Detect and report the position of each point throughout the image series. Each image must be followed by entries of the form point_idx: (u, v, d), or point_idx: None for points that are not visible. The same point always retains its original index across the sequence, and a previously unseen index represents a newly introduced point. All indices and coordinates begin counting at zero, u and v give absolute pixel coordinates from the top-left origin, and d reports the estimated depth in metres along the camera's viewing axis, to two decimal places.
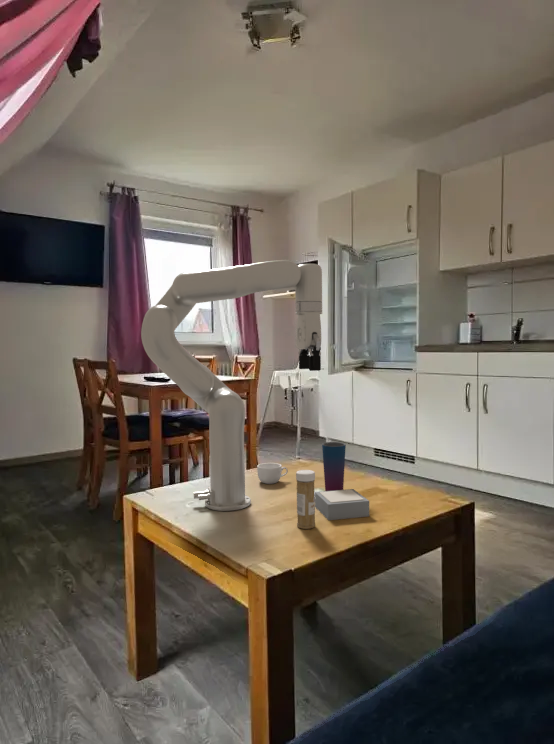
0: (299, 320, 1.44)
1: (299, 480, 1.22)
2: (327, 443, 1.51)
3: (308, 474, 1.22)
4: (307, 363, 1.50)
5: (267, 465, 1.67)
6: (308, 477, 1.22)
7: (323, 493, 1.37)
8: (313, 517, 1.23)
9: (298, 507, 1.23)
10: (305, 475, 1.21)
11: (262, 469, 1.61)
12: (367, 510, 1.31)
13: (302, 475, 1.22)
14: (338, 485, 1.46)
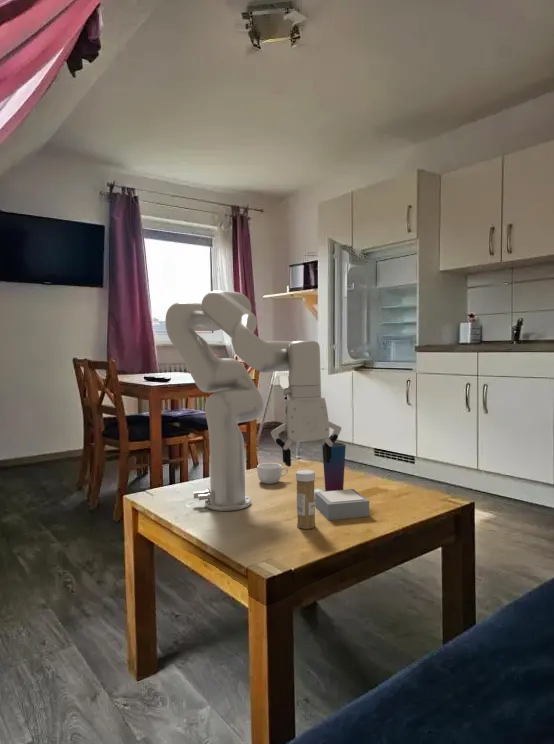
0: (308, 407, 1.20)
1: (299, 480, 1.22)
2: None
3: (308, 474, 1.22)
4: None
5: (267, 465, 1.67)
6: (308, 477, 1.22)
7: (323, 493, 1.37)
8: (313, 517, 1.23)
9: (298, 507, 1.23)
10: (305, 475, 1.21)
11: (262, 469, 1.61)
12: (367, 510, 1.31)
13: (302, 475, 1.22)
14: (338, 485, 1.46)
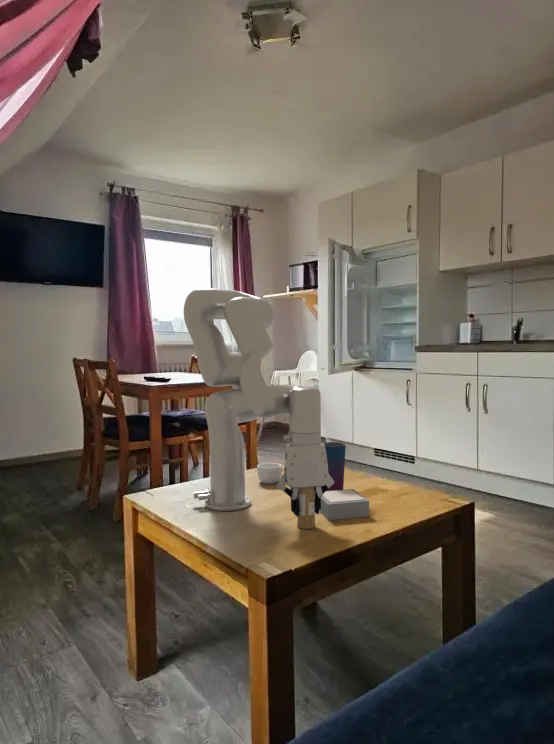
0: (308, 454, 1.21)
1: None
2: (327, 443, 1.51)
3: None
4: None
5: (267, 465, 1.67)
6: None
7: None
8: (313, 517, 1.23)
9: None
10: None
11: (262, 469, 1.61)
12: (367, 510, 1.31)
13: None
14: (338, 485, 1.46)
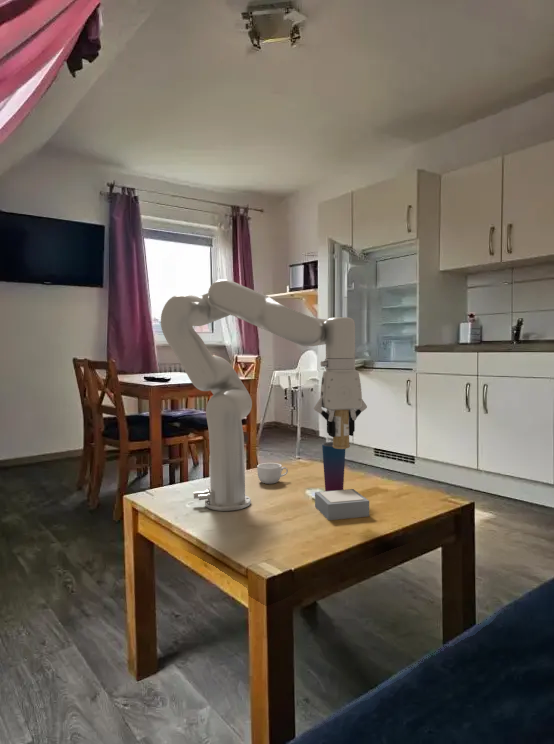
0: (344, 378, 1.30)
1: None
2: (327, 443, 1.51)
3: None
4: None
5: (267, 465, 1.67)
6: None
7: (323, 493, 1.37)
8: (348, 438, 1.32)
9: None
10: None
11: (262, 469, 1.61)
12: (367, 510, 1.31)
13: None
14: (338, 485, 1.46)
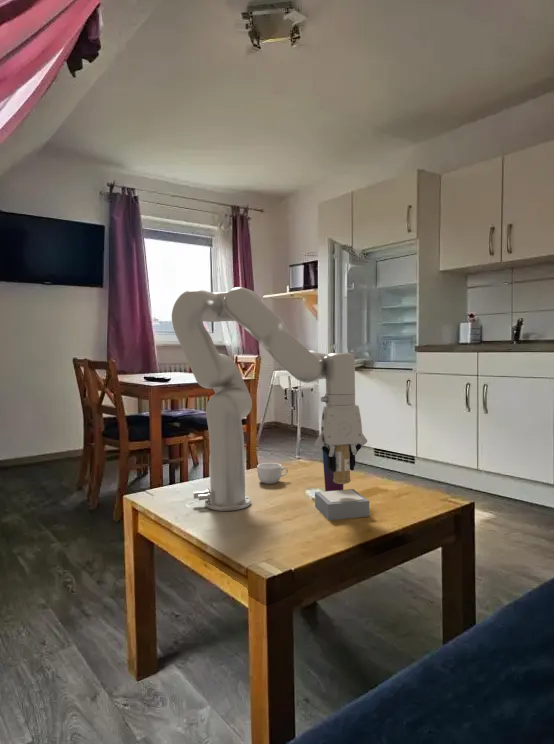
0: (344, 414, 1.31)
1: None
2: None
3: None
4: None
5: (267, 465, 1.67)
6: None
7: (323, 493, 1.37)
8: (348, 473, 1.33)
9: None
10: None
11: (262, 469, 1.61)
12: (367, 510, 1.31)
13: None
14: (338, 485, 1.46)
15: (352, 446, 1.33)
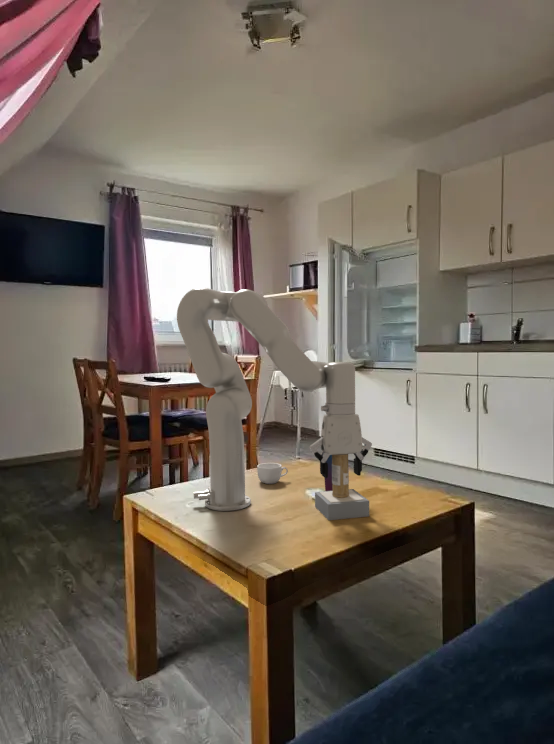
0: (344, 423, 1.31)
1: None
2: None
3: None
4: None
5: (267, 465, 1.67)
6: None
7: (323, 493, 1.37)
8: (347, 487, 1.33)
9: (333, 478, 1.33)
10: None
11: (262, 469, 1.61)
12: (367, 510, 1.31)
13: None
14: None
15: (357, 453, 1.34)
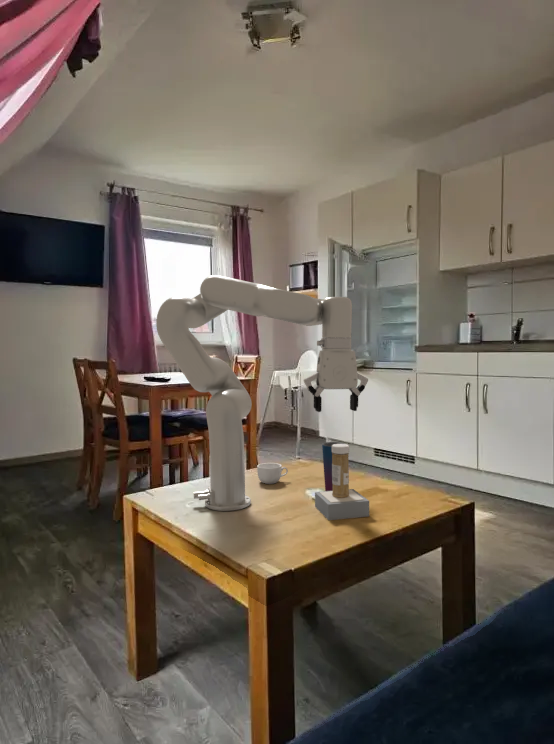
0: (339, 357, 1.31)
1: (335, 452, 1.32)
2: (327, 443, 1.51)
3: (343, 447, 1.32)
4: None
5: (267, 465, 1.67)
6: (343, 450, 1.32)
7: (323, 493, 1.37)
8: (347, 487, 1.33)
9: (333, 477, 1.33)
10: (341, 448, 1.32)
11: (262, 469, 1.61)
12: (367, 510, 1.31)
13: (338, 448, 1.32)
14: None
15: (353, 388, 1.33)
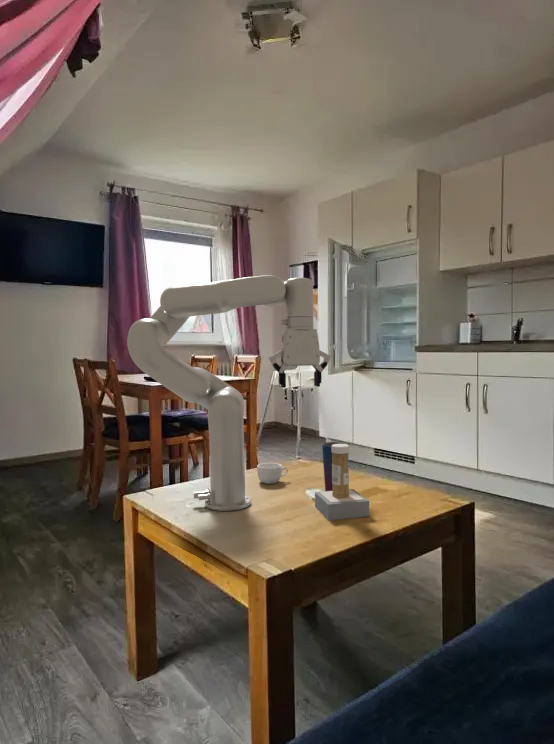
0: (302, 335, 1.37)
1: (335, 452, 1.32)
2: (327, 443, 1.51)
3: (343, 447, 1.32)
4: None
5: (267, 465, 1.67)
6: (343, 450, 1.32)
7: (323, 493, 1.37)
8: (347, 487, 1.33)
9: (333, 478, 1.33)
10: (340, 448, 1.32)
11: (262, 469, 1.61)
12: (367, 510, 1.31)
13: (338, 448, 1.32)
14: None
15: (316, 365, 1.40)
